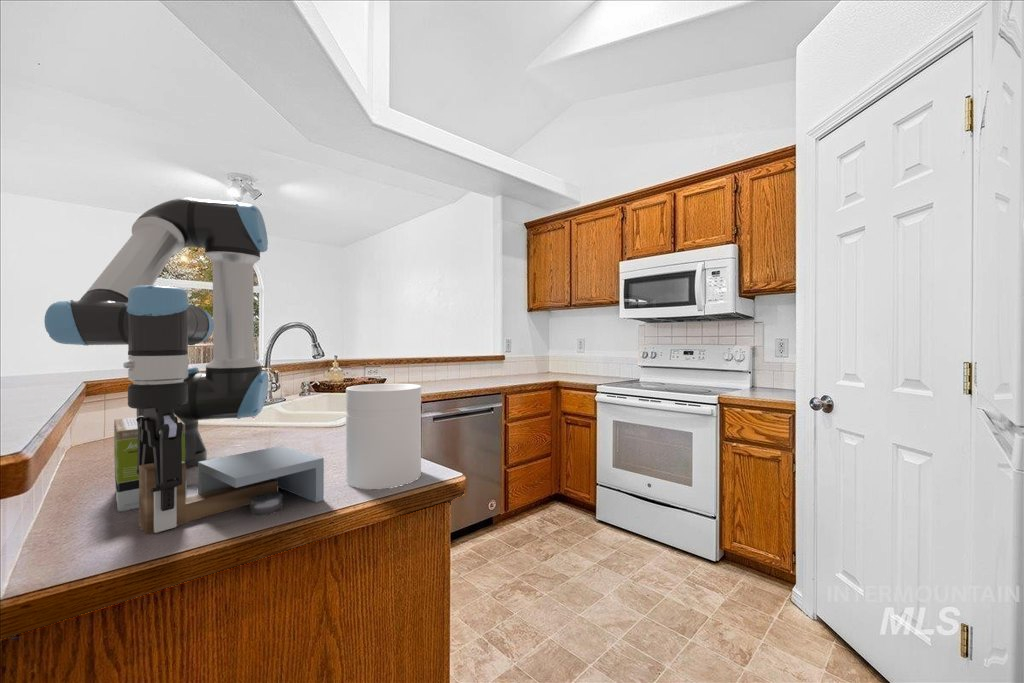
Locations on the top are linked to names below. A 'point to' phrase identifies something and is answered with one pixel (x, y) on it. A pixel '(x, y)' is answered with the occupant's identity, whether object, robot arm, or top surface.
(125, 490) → the tea box
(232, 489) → the wooden l-shaped block
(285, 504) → the top surface
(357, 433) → the canister
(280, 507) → the steel puck
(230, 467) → the low shelf
